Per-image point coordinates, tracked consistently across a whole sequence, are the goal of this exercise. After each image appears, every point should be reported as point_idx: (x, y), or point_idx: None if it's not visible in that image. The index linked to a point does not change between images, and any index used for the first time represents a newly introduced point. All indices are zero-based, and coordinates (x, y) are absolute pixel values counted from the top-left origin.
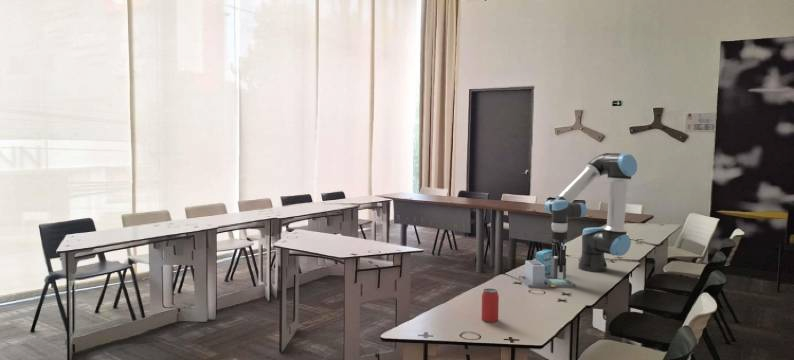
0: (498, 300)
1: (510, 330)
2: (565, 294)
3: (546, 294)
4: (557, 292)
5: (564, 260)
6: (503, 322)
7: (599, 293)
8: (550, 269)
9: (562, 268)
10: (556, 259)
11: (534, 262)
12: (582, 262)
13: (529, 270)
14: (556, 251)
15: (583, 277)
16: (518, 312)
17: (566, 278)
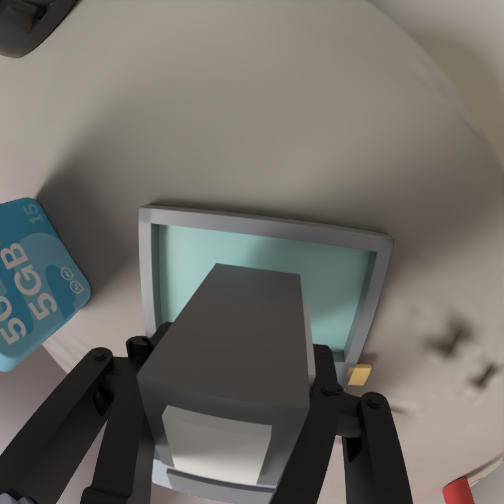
0: (471, 499)
1: (495, 459)
2: (456, 345)
3: (416, 408)
4: (420, 367)
5: (391, 445)
6: (473, 469)
7: (500, 167)
8: (38, 228)
9: (333, 373)
10: (280, 471)
11: (223, 495)
12: (14, 36)
13: None
14: (146, 499)
15: (150, 55)
16: (464, 460)
17: (222, 219)
